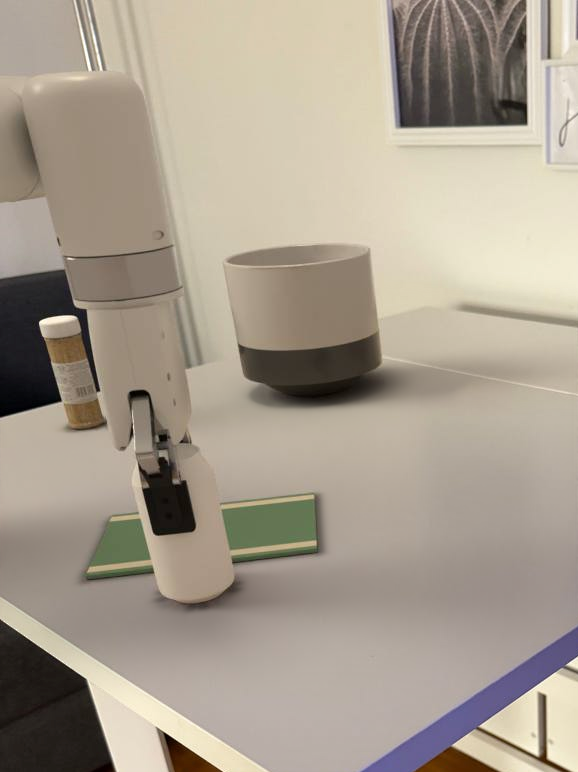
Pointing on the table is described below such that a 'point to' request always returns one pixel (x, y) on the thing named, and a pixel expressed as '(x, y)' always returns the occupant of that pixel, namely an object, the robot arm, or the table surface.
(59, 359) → the sprinkles bottle
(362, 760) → the table surface
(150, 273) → the robot arm
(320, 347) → the planter
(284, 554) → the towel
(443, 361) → the table surface
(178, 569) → the beverage can
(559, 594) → the table surface
